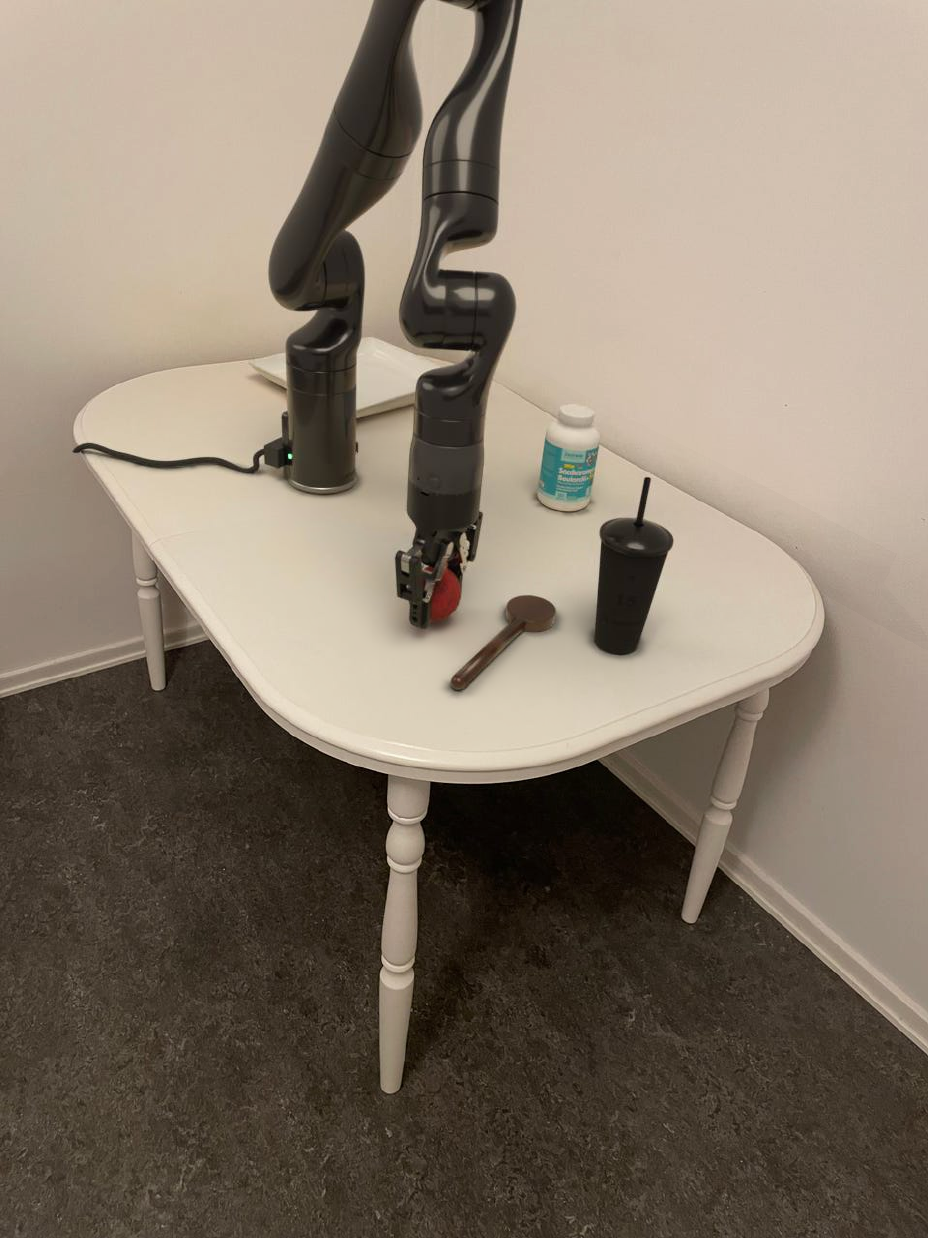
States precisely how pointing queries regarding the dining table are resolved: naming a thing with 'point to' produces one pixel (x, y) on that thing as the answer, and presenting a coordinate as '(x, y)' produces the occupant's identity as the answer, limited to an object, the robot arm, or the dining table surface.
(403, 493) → the dining table surface
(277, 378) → the square plate
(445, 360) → the dining table surface
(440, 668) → the dining table surface
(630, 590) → the drinking cup
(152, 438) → the dining table surface
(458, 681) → the spoon
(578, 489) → the pill bottle
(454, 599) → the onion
